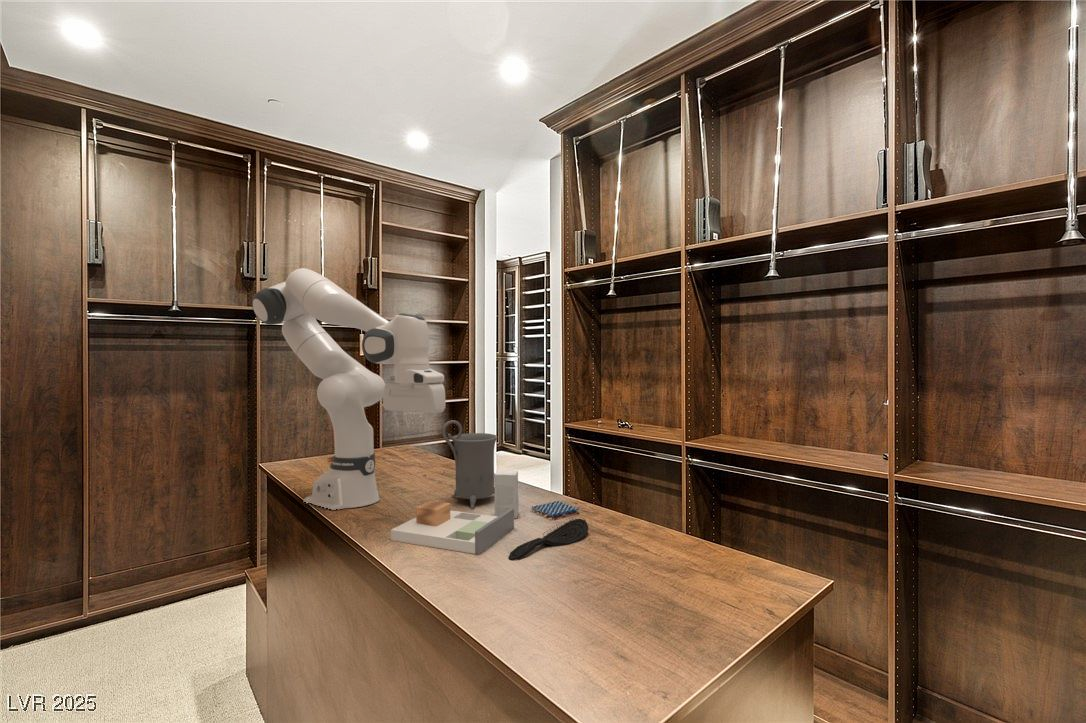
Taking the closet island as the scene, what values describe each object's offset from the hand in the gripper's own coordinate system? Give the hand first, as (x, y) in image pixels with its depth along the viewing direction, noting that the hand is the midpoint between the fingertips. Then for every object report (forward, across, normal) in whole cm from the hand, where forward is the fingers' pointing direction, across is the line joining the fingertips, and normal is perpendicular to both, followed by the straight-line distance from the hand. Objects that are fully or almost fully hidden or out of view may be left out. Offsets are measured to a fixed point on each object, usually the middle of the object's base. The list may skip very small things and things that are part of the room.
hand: (413, 429), depth 132 cm
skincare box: (+25, +16, +18) cm, 35 cm away
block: (+22, +8, -1) cm, 24 cm away
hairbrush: (+26, +36, +8) cm, 45 cm away
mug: (+25, -2, +24) cm, 35 cm away
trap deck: (+25, +13, 0) cm, 28 cm away
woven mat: (+26, +25, +28) cm, 46 cm away
